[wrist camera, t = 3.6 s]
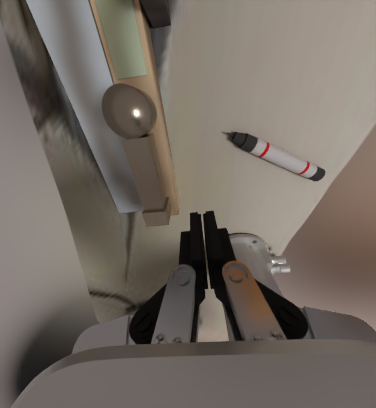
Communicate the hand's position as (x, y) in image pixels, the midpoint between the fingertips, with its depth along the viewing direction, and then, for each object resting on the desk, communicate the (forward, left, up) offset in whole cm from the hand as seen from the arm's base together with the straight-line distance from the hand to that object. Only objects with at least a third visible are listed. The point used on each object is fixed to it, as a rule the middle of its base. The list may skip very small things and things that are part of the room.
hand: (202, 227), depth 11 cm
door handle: (+5, -3, -9) cm, 11 cm away
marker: (-11, -1, -14) cm, 18 cm away
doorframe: (+7, -8, -14) cm, 17 cm away
